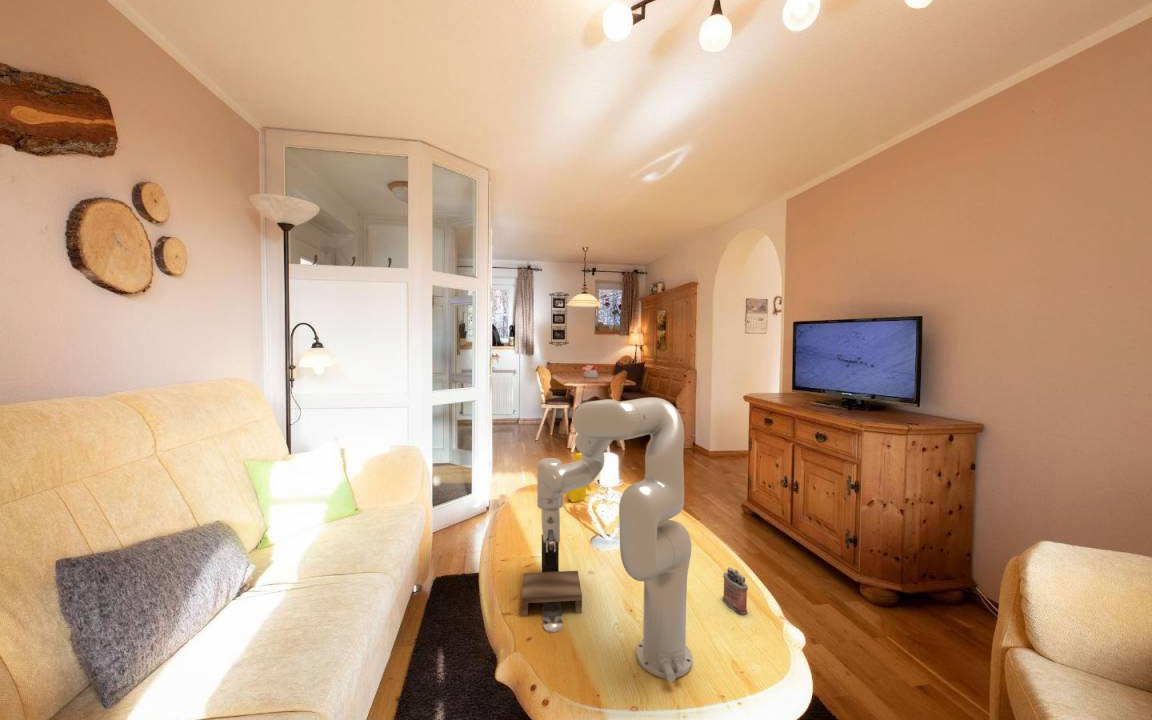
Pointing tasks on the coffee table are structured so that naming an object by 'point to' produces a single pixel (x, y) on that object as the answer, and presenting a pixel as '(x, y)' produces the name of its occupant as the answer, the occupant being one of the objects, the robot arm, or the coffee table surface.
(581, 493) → the figure statuette
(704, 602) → the coffee table surface
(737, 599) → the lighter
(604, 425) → the robot arm
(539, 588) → the low table
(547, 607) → the pusher tool
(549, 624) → the steel token
